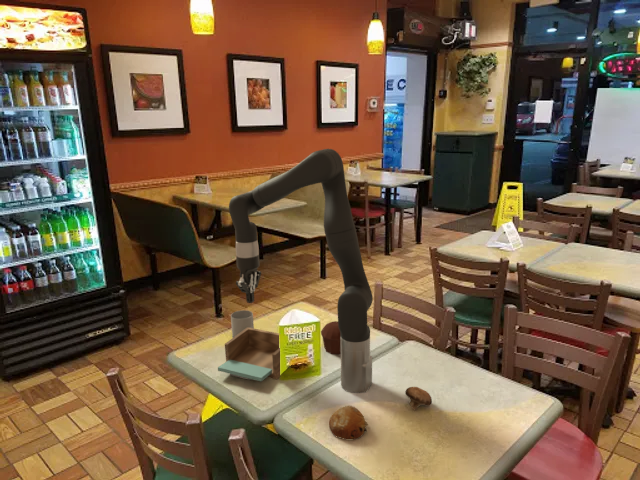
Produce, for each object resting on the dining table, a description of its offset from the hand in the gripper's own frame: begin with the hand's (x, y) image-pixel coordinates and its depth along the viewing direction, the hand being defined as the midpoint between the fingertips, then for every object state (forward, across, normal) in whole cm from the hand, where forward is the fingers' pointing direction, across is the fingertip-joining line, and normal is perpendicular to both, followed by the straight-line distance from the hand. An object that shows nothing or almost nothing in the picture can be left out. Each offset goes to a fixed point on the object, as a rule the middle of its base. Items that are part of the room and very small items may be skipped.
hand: (250, 302), depth 161 cm
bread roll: (+23, -22, -43) cm, 54 cm away
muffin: (+23, +19, -24) cm, 38 cm away
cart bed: (+23, 0, -3) cm, 23 cm away
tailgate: (+20, -7, -3) cm, 22 cm away
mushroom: (+23, -5, -59) cm, 63 cm away
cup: (+23, +14, +14) cm, 30 cm away
